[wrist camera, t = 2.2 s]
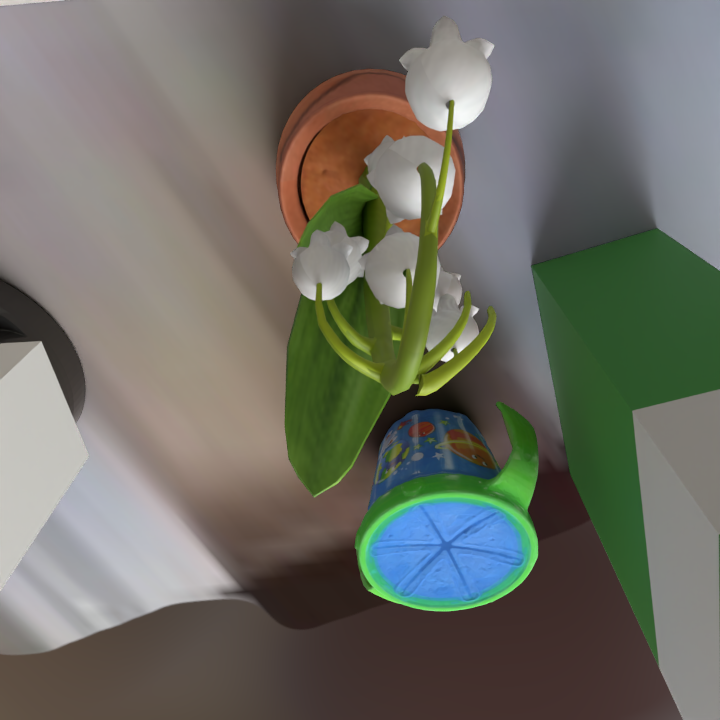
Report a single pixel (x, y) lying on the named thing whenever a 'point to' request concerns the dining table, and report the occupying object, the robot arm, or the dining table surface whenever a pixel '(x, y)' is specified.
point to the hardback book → (647, 436)
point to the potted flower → (376, 245)
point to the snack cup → (449, 513)
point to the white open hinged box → (22, 2)
